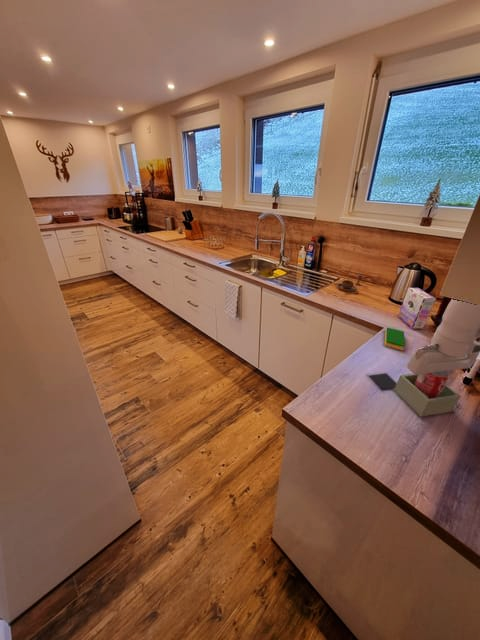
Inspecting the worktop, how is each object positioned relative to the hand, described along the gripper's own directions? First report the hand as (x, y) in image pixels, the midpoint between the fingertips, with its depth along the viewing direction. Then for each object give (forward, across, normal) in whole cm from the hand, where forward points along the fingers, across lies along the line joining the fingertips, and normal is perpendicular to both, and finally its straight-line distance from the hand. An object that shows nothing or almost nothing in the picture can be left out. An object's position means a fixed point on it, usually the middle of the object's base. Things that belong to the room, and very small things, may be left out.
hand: (431, 379), depth 82 cm
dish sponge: (+9, +16, +33) cm, 38 cm away
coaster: (+9, -6, +10) cm, 15 cm away
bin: (+9, 0, 0) cm, 9 cm away
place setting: (+9, +33, +93) cm, 99 cm away
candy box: (+9, +37, +47) cm, 60 cm away
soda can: (+8, 0, 0) cm, 8 cm away
